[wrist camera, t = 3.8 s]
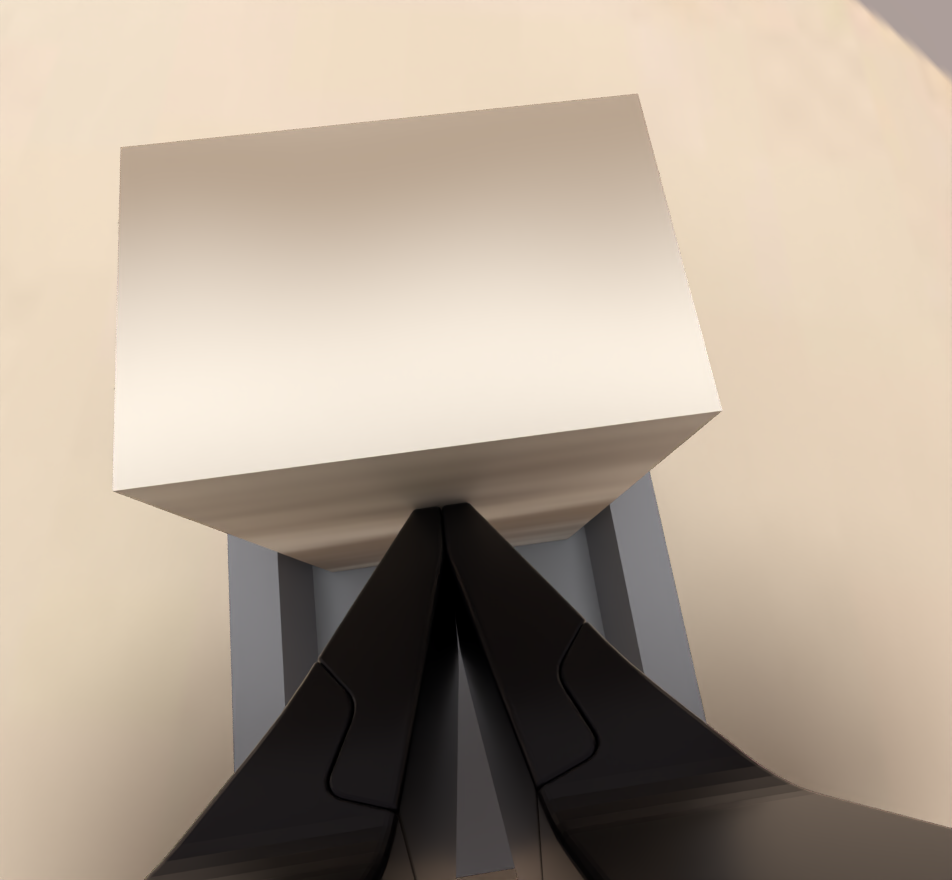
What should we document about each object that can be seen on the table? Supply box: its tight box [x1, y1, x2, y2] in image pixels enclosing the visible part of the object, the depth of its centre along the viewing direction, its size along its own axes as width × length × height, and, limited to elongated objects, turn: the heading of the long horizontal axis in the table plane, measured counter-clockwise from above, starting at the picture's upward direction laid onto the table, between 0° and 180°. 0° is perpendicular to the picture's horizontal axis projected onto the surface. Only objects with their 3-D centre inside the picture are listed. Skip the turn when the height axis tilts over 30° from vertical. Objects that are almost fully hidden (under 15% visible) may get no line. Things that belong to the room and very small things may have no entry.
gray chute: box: [228, 471, 706, 878], centre depth 15 cm, size 14×10×4 cm
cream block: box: [113, 94, 722, 572], centre depth 11 cm, size 4×6×10 cm, turn 98°
